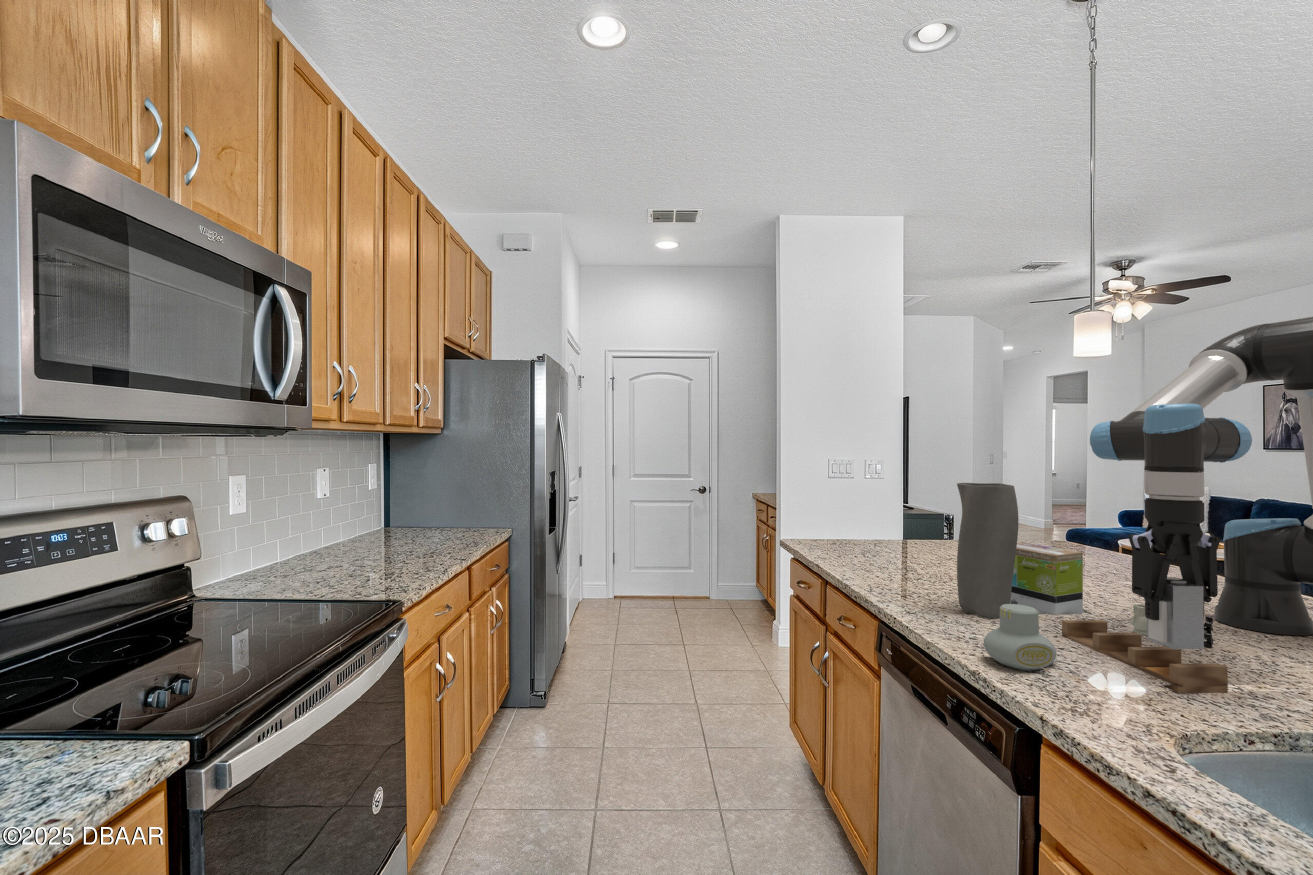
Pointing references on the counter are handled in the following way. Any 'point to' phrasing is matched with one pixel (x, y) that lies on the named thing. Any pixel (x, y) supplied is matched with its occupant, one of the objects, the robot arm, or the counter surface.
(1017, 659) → the air freshener
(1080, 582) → the tea box
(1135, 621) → the valve
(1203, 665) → the wooden compartment tray
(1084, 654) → the counter surface
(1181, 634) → the block
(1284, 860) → the counter surface
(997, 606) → the vase
